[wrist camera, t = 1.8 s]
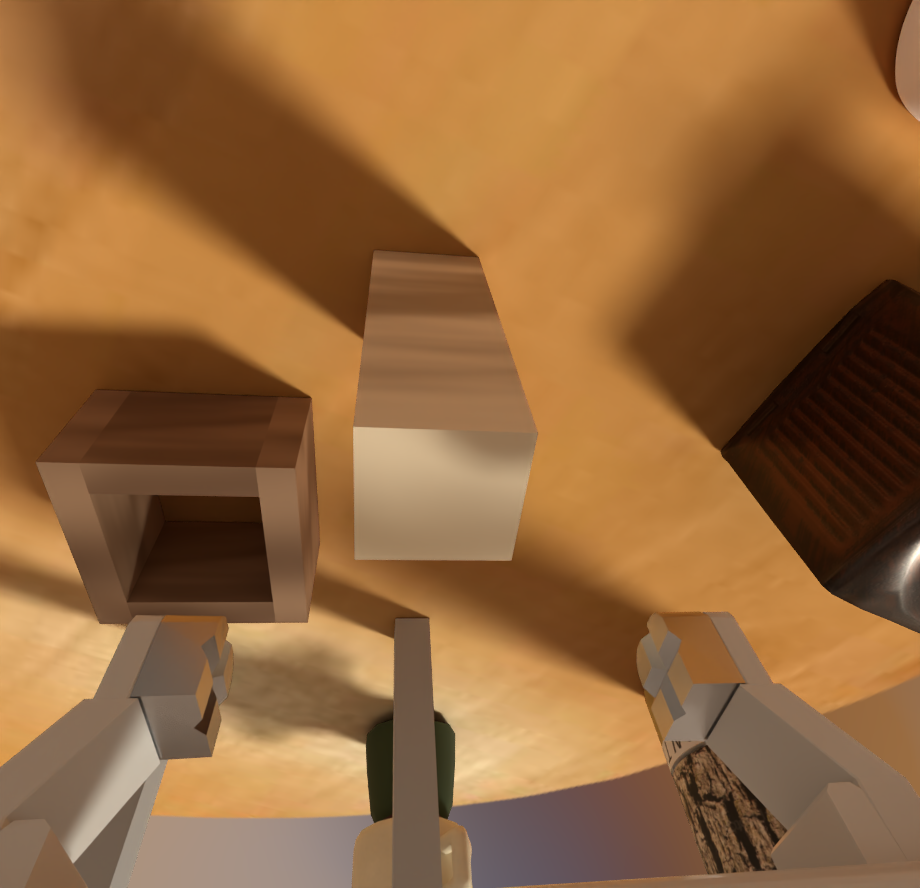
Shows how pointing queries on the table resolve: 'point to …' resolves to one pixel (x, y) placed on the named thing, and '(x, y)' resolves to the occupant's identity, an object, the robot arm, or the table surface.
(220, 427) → the socket
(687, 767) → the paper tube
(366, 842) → the character mug
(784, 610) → the table surface
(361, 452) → the peg
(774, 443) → the manual coffee grinder
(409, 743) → the u-shaped bar frame
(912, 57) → the can
